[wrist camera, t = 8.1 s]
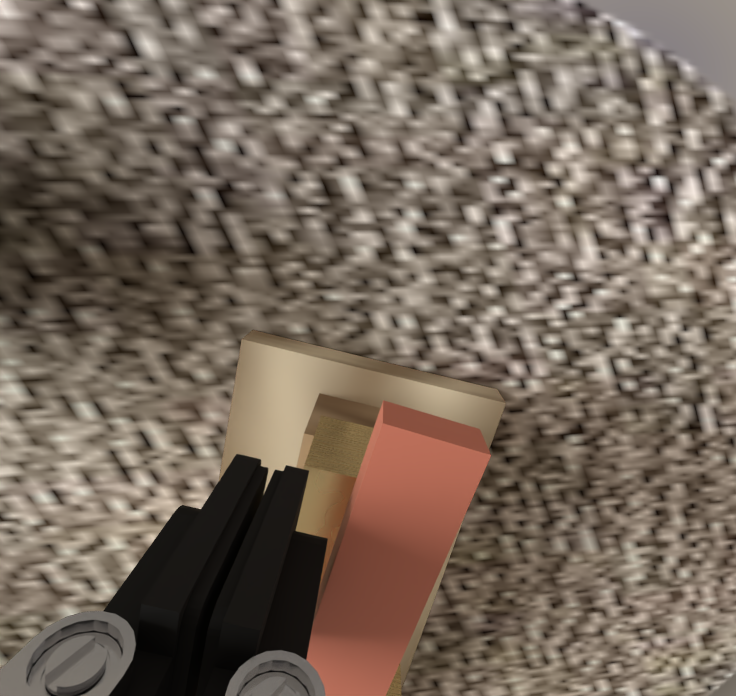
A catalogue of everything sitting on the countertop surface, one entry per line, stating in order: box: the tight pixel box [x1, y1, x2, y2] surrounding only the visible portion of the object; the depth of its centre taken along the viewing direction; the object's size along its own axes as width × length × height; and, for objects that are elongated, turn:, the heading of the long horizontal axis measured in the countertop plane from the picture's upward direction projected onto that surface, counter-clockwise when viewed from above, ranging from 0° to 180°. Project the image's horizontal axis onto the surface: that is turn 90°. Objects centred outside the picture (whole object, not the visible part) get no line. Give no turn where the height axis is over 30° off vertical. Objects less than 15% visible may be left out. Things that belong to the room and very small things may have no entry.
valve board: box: [219, 330, 506, 689], centre depth 20 cm, size 11×22×5 cm, turn 166°
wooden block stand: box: [296, 415, 401, 696], centre depth 16 cm, size 6×20×7 cm, turn 166°
